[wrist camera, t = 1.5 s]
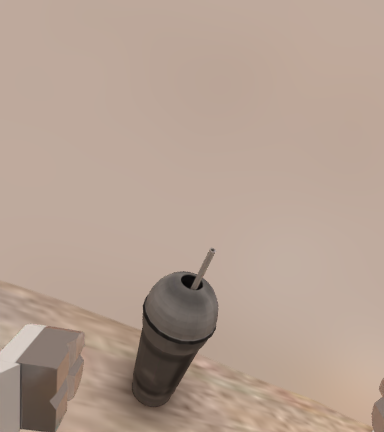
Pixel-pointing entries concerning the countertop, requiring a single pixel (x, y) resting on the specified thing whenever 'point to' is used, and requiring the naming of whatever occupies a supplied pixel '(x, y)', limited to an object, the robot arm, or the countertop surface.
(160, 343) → the beverage cup
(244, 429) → the countertop surface
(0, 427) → the robot arm
